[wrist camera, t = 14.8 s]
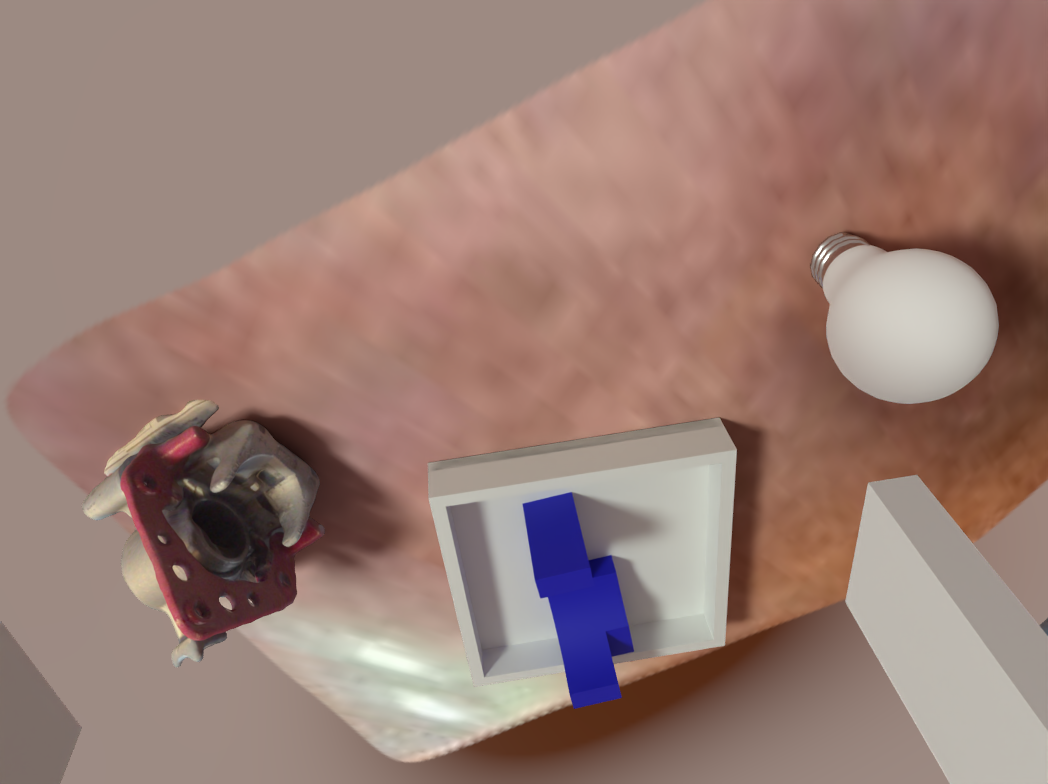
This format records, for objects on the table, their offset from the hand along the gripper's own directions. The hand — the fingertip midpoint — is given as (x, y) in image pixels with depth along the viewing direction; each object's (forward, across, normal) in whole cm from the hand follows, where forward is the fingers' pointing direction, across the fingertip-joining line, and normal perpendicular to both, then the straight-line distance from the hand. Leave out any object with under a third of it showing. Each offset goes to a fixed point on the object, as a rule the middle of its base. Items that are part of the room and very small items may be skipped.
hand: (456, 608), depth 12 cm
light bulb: (+27, -19, +9) cm, 34 cm away
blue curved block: (+26, -4, +28) cm, 38 cm away
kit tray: (+27, -5, +27) cm, 38 cm away
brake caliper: (+27, +15, +18) cm, 35 cm away
